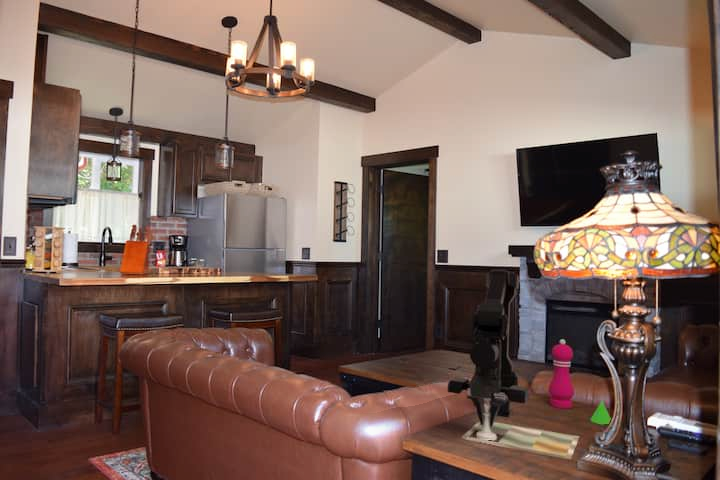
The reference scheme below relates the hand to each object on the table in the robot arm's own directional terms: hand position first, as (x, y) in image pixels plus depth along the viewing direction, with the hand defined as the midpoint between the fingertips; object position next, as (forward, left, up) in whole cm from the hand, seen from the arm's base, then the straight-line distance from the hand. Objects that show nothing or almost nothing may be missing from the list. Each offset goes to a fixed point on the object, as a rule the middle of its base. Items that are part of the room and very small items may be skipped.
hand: (486, 425), depth 133 cm
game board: (-4, +8, -3) cm, 9 cm away
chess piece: (0, 0, -3) cm, 3 cm away
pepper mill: (-43, +12, -3) cm, 45 cm away
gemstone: (-32, +24, -3) cm, 40 cm away
